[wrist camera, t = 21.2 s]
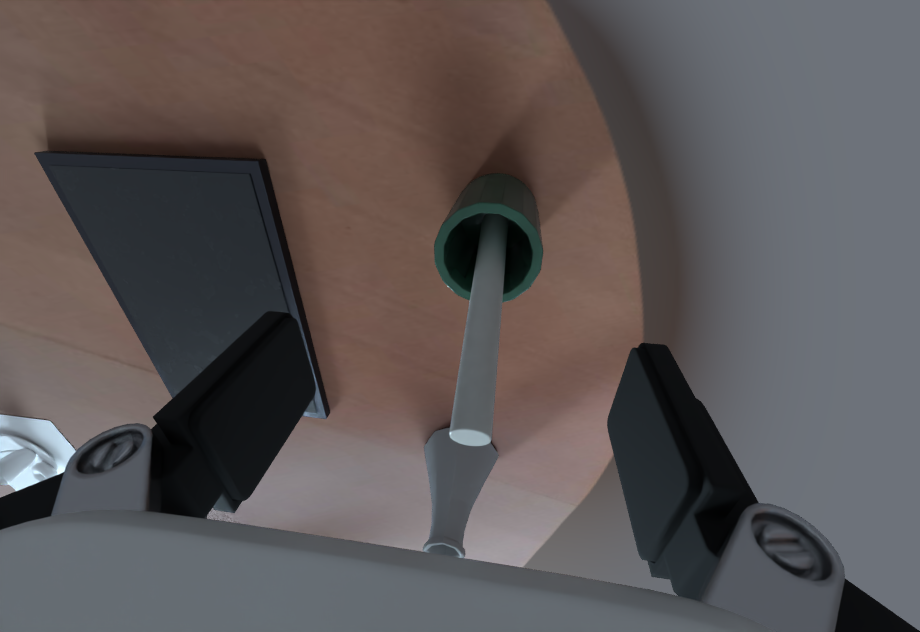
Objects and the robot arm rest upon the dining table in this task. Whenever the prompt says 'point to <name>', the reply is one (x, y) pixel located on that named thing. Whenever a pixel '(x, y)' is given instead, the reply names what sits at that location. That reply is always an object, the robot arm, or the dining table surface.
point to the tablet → (184, 251)
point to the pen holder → (464, 228)
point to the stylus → (481, 339)
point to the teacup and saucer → (31, 451)
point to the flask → (454, 488)
